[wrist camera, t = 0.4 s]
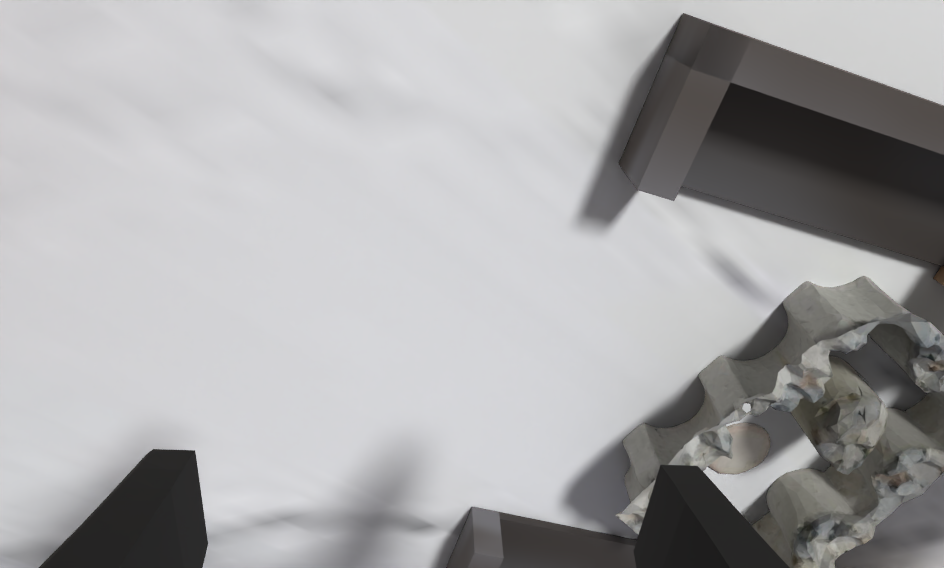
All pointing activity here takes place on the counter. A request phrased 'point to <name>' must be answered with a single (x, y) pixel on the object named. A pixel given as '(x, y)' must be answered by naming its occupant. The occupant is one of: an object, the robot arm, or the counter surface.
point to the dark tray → (756, 197)
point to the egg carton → (814, 424)
